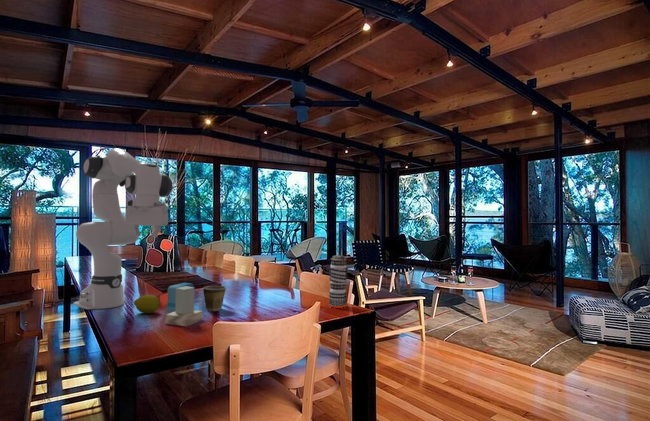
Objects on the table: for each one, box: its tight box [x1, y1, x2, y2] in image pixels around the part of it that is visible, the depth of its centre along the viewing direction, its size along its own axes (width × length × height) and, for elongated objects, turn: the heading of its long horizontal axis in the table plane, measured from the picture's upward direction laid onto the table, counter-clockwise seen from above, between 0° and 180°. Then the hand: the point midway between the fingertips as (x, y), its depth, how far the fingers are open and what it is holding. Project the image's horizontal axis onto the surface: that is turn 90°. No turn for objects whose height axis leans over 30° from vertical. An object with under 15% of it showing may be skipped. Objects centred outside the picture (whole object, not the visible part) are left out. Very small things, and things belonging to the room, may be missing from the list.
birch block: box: [164, 309, 204, 327], centre depth 149 cm, size 10×10×4 cm
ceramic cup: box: [202, 285, 226, 312], centre depth 171 cm, size 13×10×10 cm
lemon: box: [133, 294, 160, 314], centre depth 160 cm, size 11×8×8 cm
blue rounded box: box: [166, 282, 195, 314], centre depth 165 cm, size 12×4×12 cm, turn 162°
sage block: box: [175, 286, 195, 315], centre depth 149 cm, size 5×5×10 cm
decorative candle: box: [328, 254, 348, 306], centre depth 182 cm, size 9×9×25 cm
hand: (146, 236), depth 149 cm, fingers open, 8 cm apart
